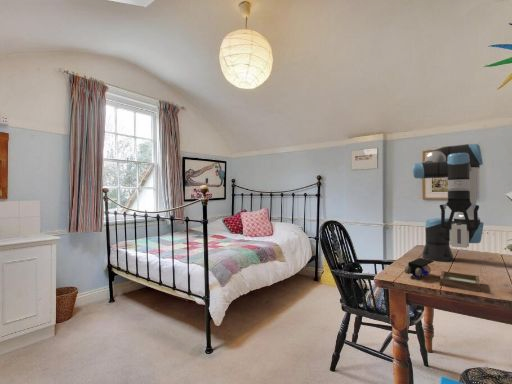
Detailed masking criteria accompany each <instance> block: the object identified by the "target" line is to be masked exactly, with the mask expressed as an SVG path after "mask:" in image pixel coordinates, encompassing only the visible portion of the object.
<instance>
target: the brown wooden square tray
mask: <svg viewBox="0 0 512 384" xmlns="http://www.w3.org/2000/svg"><path fill="white" fill-rule="evenodd" d="M439 286H440V287H446V288H447V287H448V288H454V289H460V290H466V291H471V292H477V293H480V292H481V283H480V276H479V275H475V274H467V273H460V272H451V271H445V270H441V273H440V277H439Z"/></svg>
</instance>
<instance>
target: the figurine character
mask: <svg viewBox="0 0 512 384" xmlns="http://www.w3.org/2000/svg"><path fill="white" fill-rule="evenodd" d="M432 263H434V260H430V259H426V258H423V257H418V258H416V259H414V260H412V261H409V262H408V263H407V265H406V266H405V268H404V273H405V274H406V275H407V274H408V275H411V276H409V278H410V279H412V278H416V280H419V279H421V277H424V276H428V275H429V274H431V267H430V264H432Z"/></svg>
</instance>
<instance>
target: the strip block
mask: <svg viewBox="0 0 512 384" xmlns="http://www.w3.org/2000/svg"><path fill="white" fill-rule="evenodd" d="M451 247H453V248H454V247H455V248H462V249H464V248H465V249H467V248H468V247H467V225H464V224H461V223H457V224H452V245H451Z"/></svg>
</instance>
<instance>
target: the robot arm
mask: <svg viewBox="0 0 512 384" xmlns="http://www.w3.org/2000/svg"><path fill="white" fill-rule="evenodd" d="M482 165H484V162H483V156H482V151H481V146H480V145H479V144H478V143H468V144H458V145H449V146H442V147H439V148H436V149H434V150H432V151H431V152H429V153H428V154H427V156H426V158H425V160H424V161H423V162H418V163H414V164H413V165H412V174H413V177H414V179H421V180H422V179H435V178H436V179H438V178H441V179H444V178H447V190H448V191H447V200H446V201H447V202H446V203H444V204H440V205H439V209H440V211H441V212H440V217H439V218H430V219H426V221H425V224H424V225H425V227H424V228H425V244H424V247H423V250H422V253H421V255H422V257H421V258H423V259H427V260H432V261H435V262H451V261H454V254H453V252H452V249H451V246H452V224H457V223H461V224H464V225H467V248H470V244H479V243H481V242H482V237H483V231H484V222H483V221H481V218H480V217H479V214H478V211H479V209H480V205H478V204H477V171H479V170H480V167H481V166H482ZM447 207H448V209H449V210H451V212H450V214H449V217H446V209H447ZM455 213H456V216H454V215H455Z"/></svg>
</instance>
